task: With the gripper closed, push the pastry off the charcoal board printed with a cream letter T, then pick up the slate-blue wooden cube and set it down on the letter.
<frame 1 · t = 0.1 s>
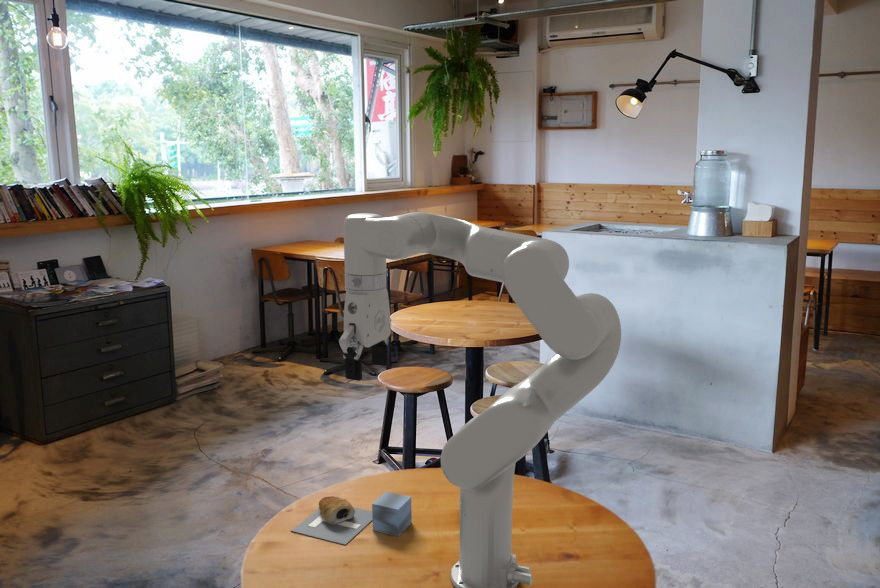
hand: (367, 371, 143), 37 cm above the table, tool pointing down, fingers open, 9 cm apart
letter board: (336, 522, 161), on the table
pastry: (335, 516, 163), resting on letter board
slate blue cube: (392, 526, 159), on the table
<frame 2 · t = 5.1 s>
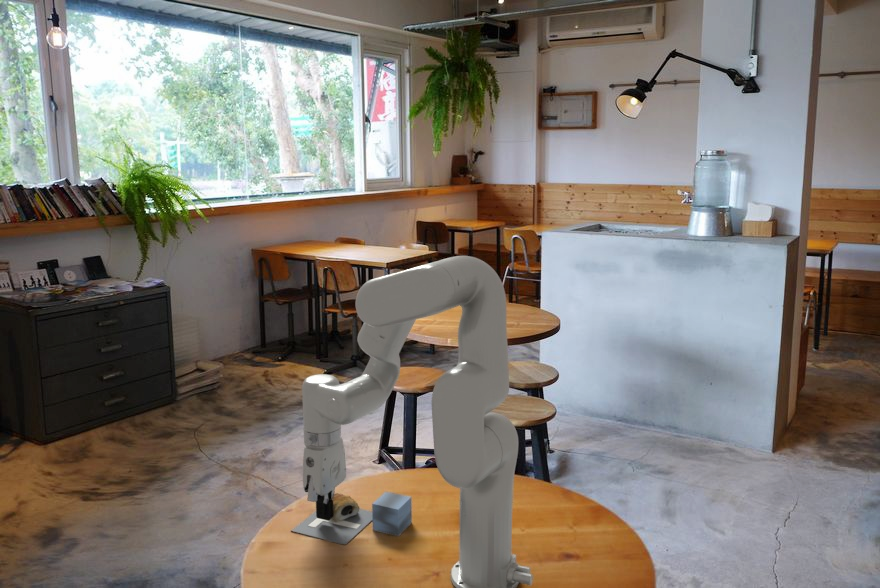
hand: (324, 517, 160), 2 cm above the table, tool pointing down, fingers closed
pastry: (339, 513, 165), resting on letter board
everything else where it was.
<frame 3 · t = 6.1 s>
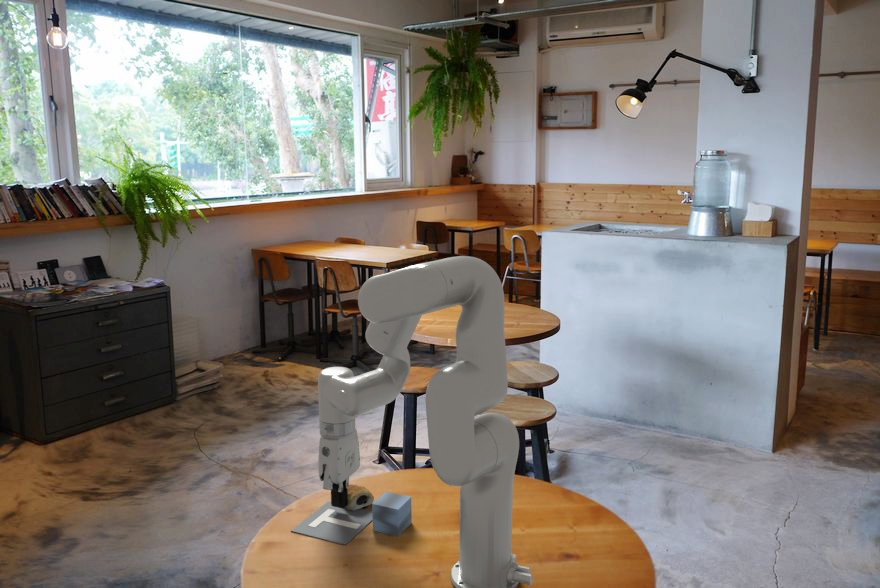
hand: (339, 505, 165), 2 cm above the table, tool pointing down, fingers closed
pastry: (354, 503, 169), on the table, touching gripper
everything else where it was.
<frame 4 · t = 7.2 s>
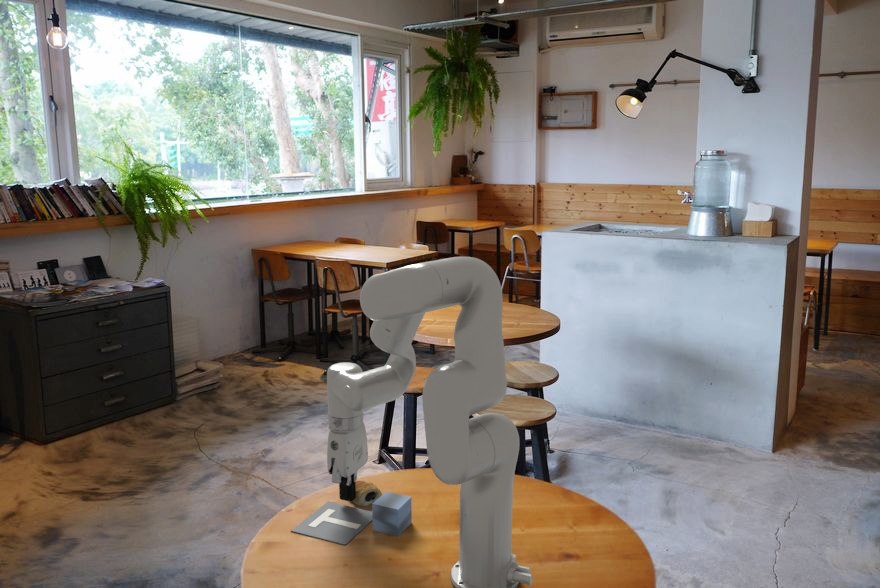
hand: (347, 498, 168), 2 cm above the table, tool pointing down, fingers closed
pastry: (362, 499, 172), on the table
everything else where it was.
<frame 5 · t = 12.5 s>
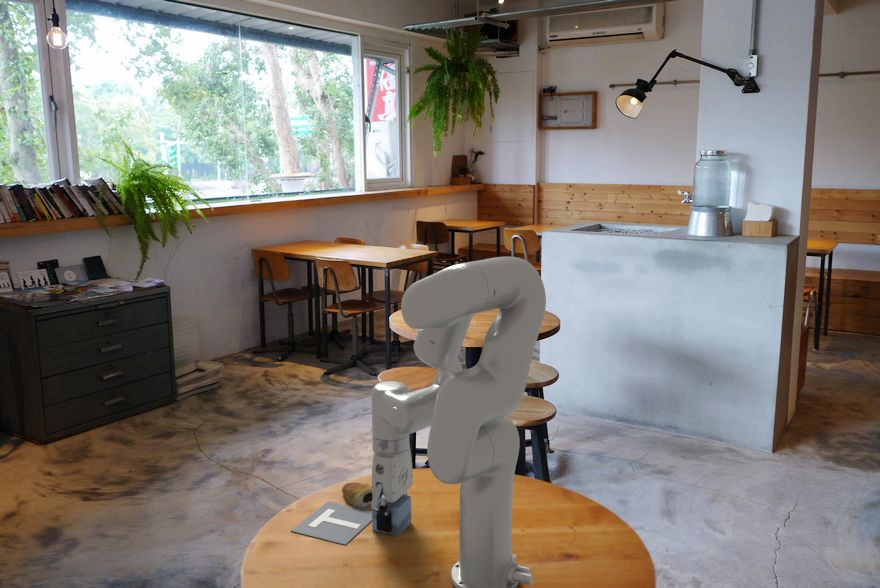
hand: (391, 522, 159), 1 cm above the table, tool pointing down, fingers closed on slate blue cube, 6 cm apart
pastry: (359, 501, 171), on the table
slate blue cube: (391, 526, 159), on the table, touching gripper
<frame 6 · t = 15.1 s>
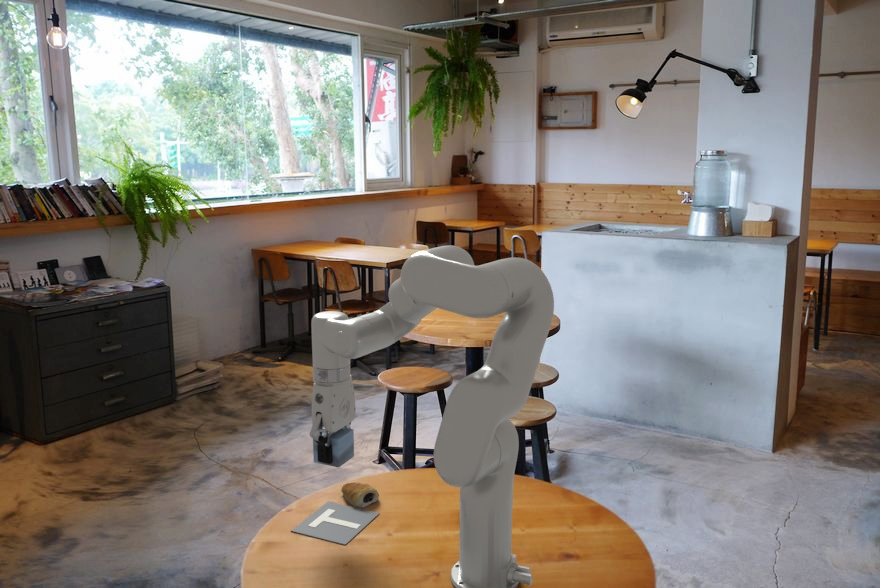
hand: (334, 455, 158), 15 cm above the table, tool pointing down, fingers closed on slate blue cube, 6 cm apart
slate blue cube: (334, 459, 158), point 14 cm above the table, touching gripper
everything else where it was.
when the fingers open (3 cm above the table, at t = 17.8 s): slate blue cube drops 1 cm, resting on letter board.
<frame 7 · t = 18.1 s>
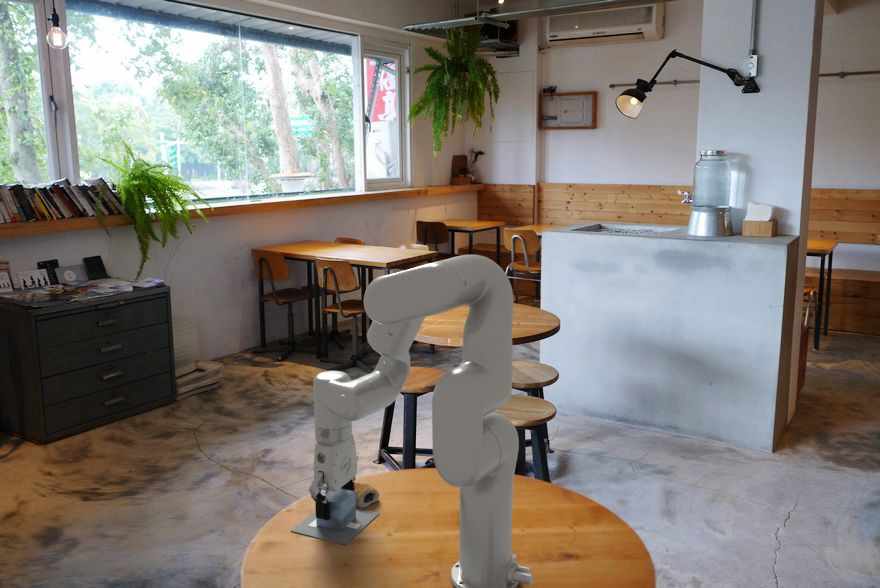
hand: (335, 508, 160), 3 cm above the table, tool pointing down, fingers open, 9 cm apart
slate blue cube: (336, 521, 161), resting on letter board
everything else where it was.
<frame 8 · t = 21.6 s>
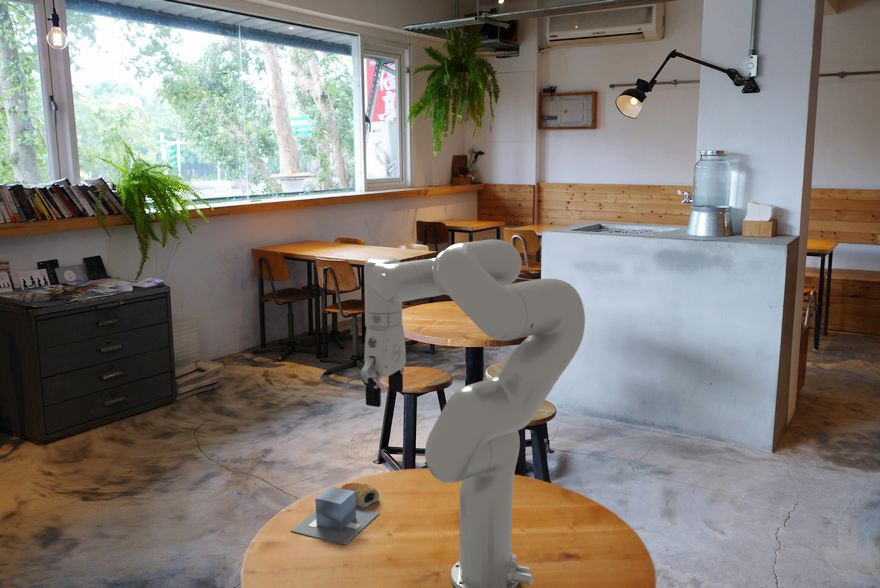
hand: (384, 398, 159), 26 cm above the table, tool pointing down, fingers open, 9 cm apart
nothing on the table moved.
at the end: pastry touching table; slate blue cube 0.0 cm off-centre on the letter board, point 0.3 cm above the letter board's base; slate blue cube tilted 0° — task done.
